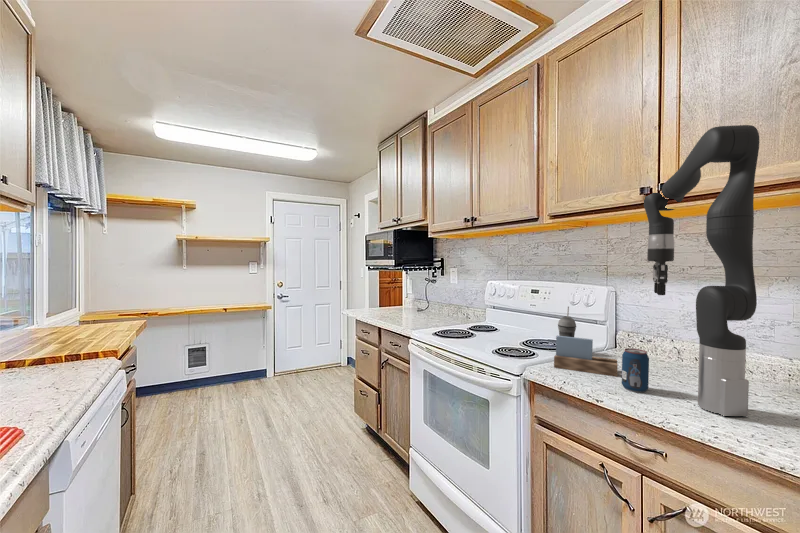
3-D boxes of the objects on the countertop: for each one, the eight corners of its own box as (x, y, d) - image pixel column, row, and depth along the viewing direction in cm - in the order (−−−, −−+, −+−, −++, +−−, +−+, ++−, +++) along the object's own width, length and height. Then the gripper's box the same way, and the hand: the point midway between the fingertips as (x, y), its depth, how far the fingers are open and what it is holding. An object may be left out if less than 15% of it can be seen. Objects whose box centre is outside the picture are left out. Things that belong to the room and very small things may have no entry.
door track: (616, 370, 129) (616, 359, 129) (617, 376, 122) (617, 365, 122) (556, 362, 139) (556, 351, 139) (553, 367, 132) (554, 356, 132)
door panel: (592, 366, 130) (592, 339, 130) (591, 368, 128) (592, 340, 128) (556, 361, 136) (556, 335, 136) (555, 362, 134) (556, 336, 134)
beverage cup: (572, 350, 157) (572, 305, 156) (578, 355, 149) (579, 307, 149) (554, 350, 157) (555, 304, 157) (560, 354, 150) (561, 307, 150)
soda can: (638, 385, 114) (639, 347, 114) (653, 393, 107) (654, 353, 107) (616, 385, 114) (617, 347, 114) (630, 393, 107) (631, 353, 107)
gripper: (677, 247, 116) (676, 296, 117) (670, 248, 129) (669, 293, 129) (649, 247, 120) (648, 295, 121) (645, 248, 133) (644, 292, 133)
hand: (659, 294), depth 125 cm, fingers open, 8 cm apart
